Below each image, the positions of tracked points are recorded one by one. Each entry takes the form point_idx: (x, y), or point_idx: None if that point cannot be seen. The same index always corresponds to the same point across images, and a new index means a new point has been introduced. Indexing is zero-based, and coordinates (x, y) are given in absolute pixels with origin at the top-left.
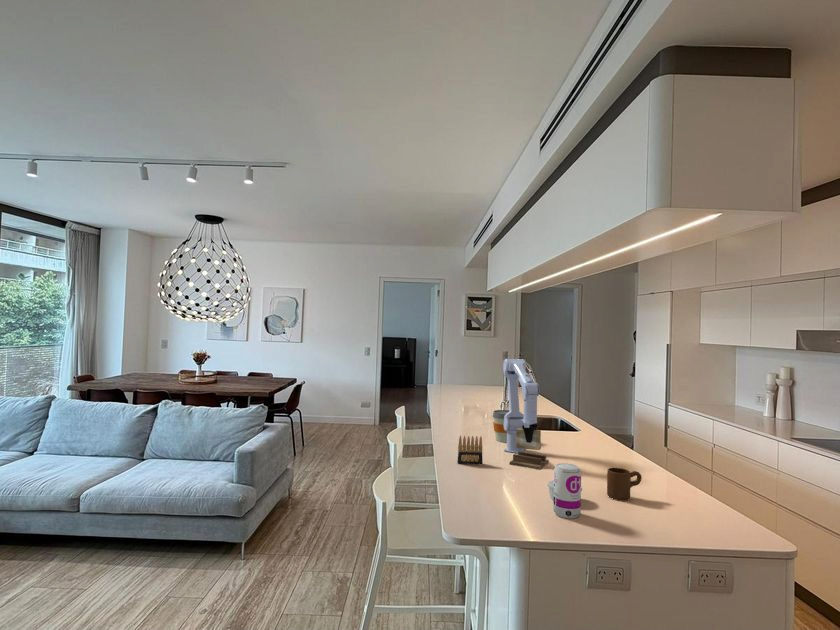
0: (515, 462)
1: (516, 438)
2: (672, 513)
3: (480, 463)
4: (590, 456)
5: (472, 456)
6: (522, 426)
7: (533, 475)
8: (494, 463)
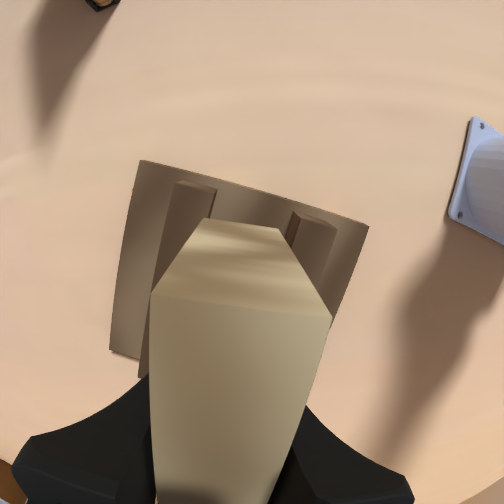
0: (145, 203)
1: (187, 242)
2: None
3: (92, 1)
4: (415, 477)
5: None
6: (15, 460)
7: (14, 309)
8: (137, 63)
